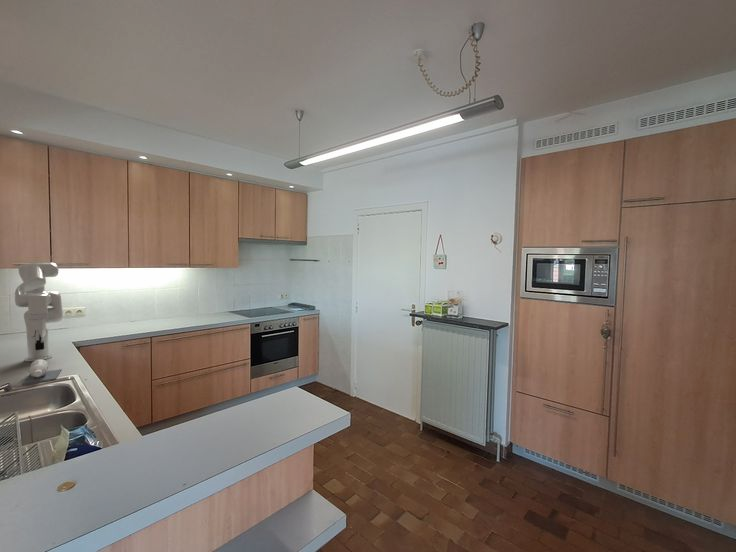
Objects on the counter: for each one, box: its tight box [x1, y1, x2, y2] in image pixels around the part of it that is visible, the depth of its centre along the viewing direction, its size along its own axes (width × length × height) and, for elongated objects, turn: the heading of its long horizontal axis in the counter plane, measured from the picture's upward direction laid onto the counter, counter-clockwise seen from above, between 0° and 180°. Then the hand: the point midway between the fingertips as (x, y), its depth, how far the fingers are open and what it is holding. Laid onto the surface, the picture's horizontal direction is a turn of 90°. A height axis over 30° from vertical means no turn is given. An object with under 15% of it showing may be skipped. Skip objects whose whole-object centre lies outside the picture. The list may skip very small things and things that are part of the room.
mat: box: [21, 368, 62, 386], centre depth 179 cm, size 17×13×1 cm
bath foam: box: [28, 359, 49, 377], centre depth 178 cm, size 7×7×20 cm
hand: (39, 349), depth 184 cm, fingers closed
